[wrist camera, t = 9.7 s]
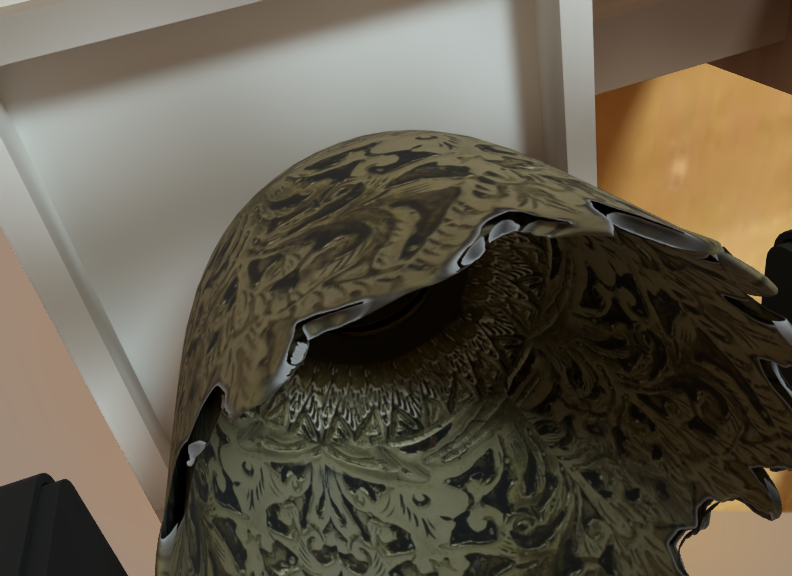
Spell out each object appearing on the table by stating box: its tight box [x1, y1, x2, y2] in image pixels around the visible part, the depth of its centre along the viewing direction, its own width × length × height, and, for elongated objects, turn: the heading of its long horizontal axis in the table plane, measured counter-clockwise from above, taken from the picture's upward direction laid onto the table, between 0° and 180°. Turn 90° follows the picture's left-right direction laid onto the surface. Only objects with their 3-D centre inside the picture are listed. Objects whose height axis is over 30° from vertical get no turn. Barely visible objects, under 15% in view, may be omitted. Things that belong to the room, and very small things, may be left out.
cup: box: [155, 130, 792, 576], centre depth 11 cm, size 8×7×8 cm
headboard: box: [0, 0, 792, 523], centre depth 20 cm, size 10×25×22 cm, turn 101°
